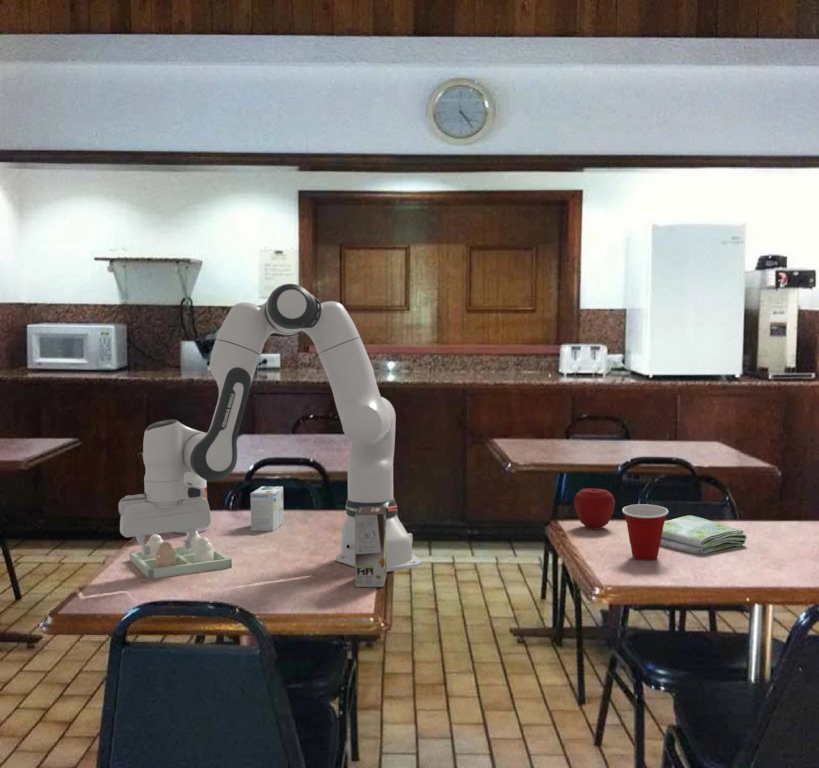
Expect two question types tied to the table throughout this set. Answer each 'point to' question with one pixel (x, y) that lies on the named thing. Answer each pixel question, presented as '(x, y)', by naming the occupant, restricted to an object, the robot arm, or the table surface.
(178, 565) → the egg tray
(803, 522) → the table surface
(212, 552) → the cream egg
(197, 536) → the cream egg
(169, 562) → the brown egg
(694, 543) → the towel
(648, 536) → the plastic cup
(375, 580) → the coffee box
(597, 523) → the apple
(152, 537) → the cream egg
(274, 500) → the light bulb box
